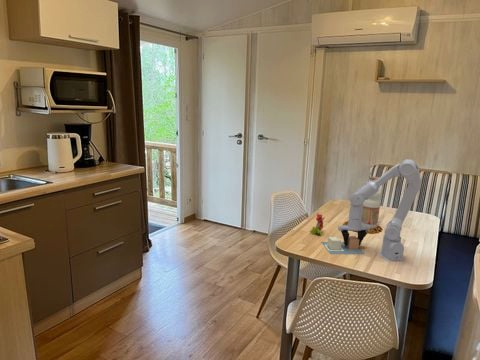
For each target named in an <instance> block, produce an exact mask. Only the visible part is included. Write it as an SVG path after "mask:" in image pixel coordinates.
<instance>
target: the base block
mask: <svg viewBox="0 0 480 360" xmlns="http://www.w3.org/2000/svg"><path fill="white" fill-rule="evenodd" d="M327 240H328V241H327V242H328V247H329V248H330V249H331V250H340V248H341V242H342V239H340V238H339V237H338V236H328V238H327Z"/></svg>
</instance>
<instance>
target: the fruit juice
mask: <svg viewBox="0 0 480 360" xmlns="http://www.w3.org/2000/svg"><path fill="white" fill-rule="evenodd" d="M378 178H380V176H379V177H378V176H369V178H368V180H369V181H372V182H374V181H376V180H377V179H378ZM381 197H382V190H381V188H380V187H379V191H378V192H377V193H375V194H374V195H373V196H371V197H370V198H369V199H367V200H365V201H364V202H363V212H362V221H361V226H369V227H370V230H372V229H377V228H378V223H379V217H380V208H381V200H380V199H381Z"/></svg>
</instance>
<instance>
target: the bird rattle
mask: <svg viewBox="0 0 480 360" xmlns="http://www.w3.org/2000/svg"><path fill="white" fill-rule="evenodd" d="M325 218H326V217H325V216H323V214H319V213H317V214H316V218H315V219H316V221H317V222H316V226H313V227H312V228H311V230H310V231H309V233H311V234H312V235H316V234H318V235H320V237H322V236H323V233H322V232H321V231H322V230H323V228H324V220H325Z"/></svg>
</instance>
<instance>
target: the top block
mask: <svg viewBox="0 0 480 360" xmlns="http://www.w3.org/2000/svg"><path fill="white" fill-rule="evenodd" d="M347 247H348V248H349V249H358V248H359V249H360V246H359V239H358V236H356V235H349V237H348V244H347Z"/></svg>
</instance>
